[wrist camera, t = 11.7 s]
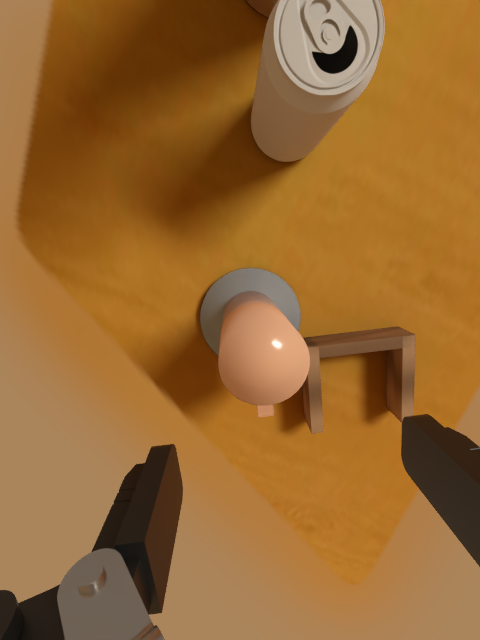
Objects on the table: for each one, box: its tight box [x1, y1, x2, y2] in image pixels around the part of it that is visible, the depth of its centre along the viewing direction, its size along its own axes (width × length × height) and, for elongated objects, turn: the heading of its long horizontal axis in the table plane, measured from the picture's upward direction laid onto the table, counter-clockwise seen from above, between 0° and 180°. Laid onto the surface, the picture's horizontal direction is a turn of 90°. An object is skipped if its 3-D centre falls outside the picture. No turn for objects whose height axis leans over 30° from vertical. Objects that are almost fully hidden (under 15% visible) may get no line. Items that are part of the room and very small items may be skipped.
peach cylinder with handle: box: [218, 291, 310, 417], centre depth 25 cm, size 8×6×12 cm, turn 7°
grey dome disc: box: [200, 268, 300, 356], centre depth 30 cm, size 10×10×1 cm
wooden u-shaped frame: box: [302, 327, 415, 434], centre depth 31 cm, size 9×10×3 cm
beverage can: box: [251, 0, 385, 162], centre depth 21 cm, size 6×6×12 cm
